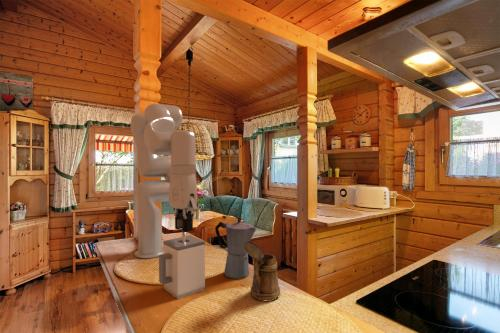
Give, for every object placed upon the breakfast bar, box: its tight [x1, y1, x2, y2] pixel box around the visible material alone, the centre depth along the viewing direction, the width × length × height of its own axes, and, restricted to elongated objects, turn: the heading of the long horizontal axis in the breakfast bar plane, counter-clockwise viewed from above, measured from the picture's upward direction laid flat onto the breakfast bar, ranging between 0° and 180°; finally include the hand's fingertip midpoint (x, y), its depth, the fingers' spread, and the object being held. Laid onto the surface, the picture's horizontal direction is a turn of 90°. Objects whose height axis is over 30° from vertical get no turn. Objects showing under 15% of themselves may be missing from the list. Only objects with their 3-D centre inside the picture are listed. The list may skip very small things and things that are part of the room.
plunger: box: [177, 218, 187, 243], centre depth 87 cm, size 6×6×16 cm
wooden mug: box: [244, 240, 281, 301], centre depth 82 cm, size 9×14×18 cm, turn 146°
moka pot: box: [214, 217, 258, 280], centre depth 98 cm, size 10×15×20 cm, turn 78°
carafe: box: [158, 235, 206, 300], centre depth 86 cm, size 9×12×15 cm
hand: (183, 229), depth 87 cm, fingers closed on plunger, 4 cm apart
